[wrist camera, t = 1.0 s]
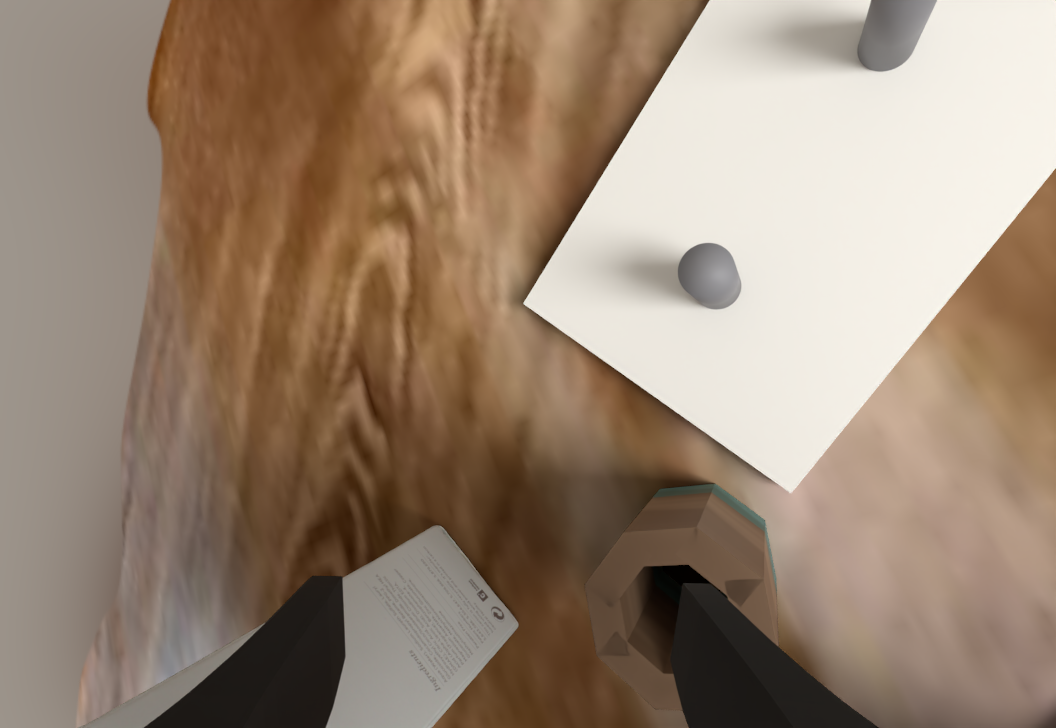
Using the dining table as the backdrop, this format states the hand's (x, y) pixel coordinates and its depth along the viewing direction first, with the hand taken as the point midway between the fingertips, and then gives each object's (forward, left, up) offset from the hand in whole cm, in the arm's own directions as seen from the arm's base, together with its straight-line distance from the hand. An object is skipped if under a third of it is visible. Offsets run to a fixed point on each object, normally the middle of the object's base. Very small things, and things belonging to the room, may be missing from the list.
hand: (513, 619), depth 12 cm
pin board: (+2, -13, -11) cm, 17 cm away
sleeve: (-3, 0, -11) cm, 12 cm away
